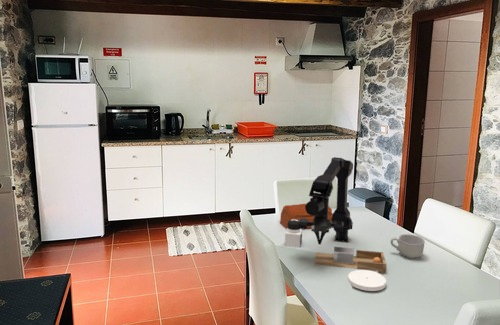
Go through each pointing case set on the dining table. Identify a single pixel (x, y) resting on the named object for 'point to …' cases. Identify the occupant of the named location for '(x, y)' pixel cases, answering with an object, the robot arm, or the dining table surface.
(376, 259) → the ball
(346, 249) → the brushed metal u-channel
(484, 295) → the dining table surface
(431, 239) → the dining table surface
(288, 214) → the bread
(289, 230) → the medicine bottle
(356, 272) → the plastic lid
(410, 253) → the teacup
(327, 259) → the serving board
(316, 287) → the dining table surface
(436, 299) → the dining table surface
